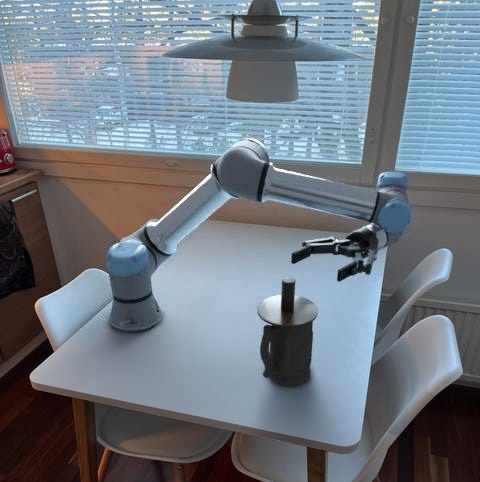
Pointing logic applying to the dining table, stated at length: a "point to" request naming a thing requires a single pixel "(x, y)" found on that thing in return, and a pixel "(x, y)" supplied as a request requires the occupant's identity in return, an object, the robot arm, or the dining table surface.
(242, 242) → the dining table surface
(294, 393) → the dining table surface
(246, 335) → the dining table surface
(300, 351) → the beer stein
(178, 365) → the dining table surface
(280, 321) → the lid
